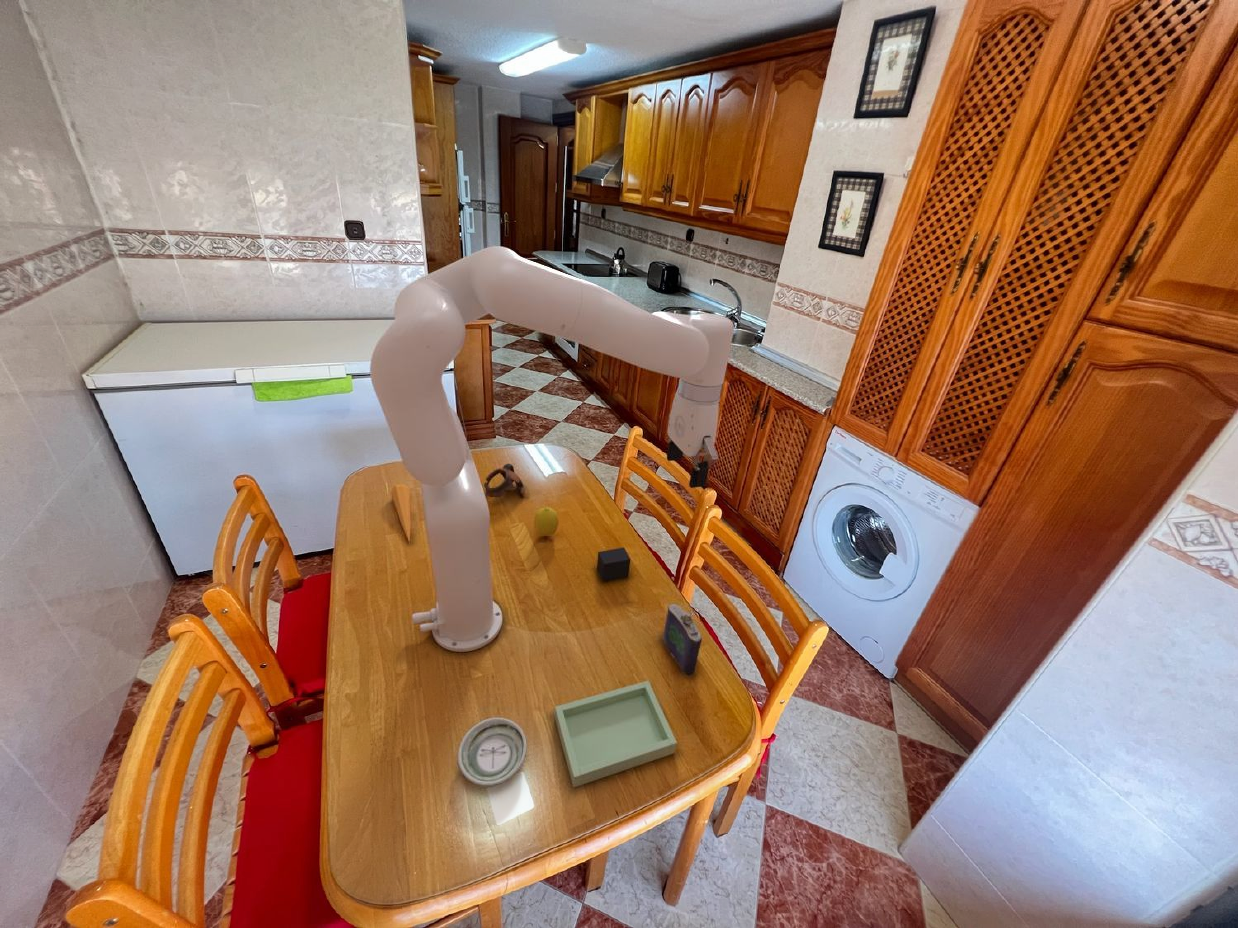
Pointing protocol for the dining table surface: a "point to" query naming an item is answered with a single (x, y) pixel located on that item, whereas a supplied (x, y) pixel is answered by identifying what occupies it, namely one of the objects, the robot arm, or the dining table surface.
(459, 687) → the dining table surface
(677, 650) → the flask
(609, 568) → the black rectangular block
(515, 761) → the saucer
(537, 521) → the lemon
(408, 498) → the carrot
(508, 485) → the brown curved loop piece
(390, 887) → the dining table surface
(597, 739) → the green rectangular tray
